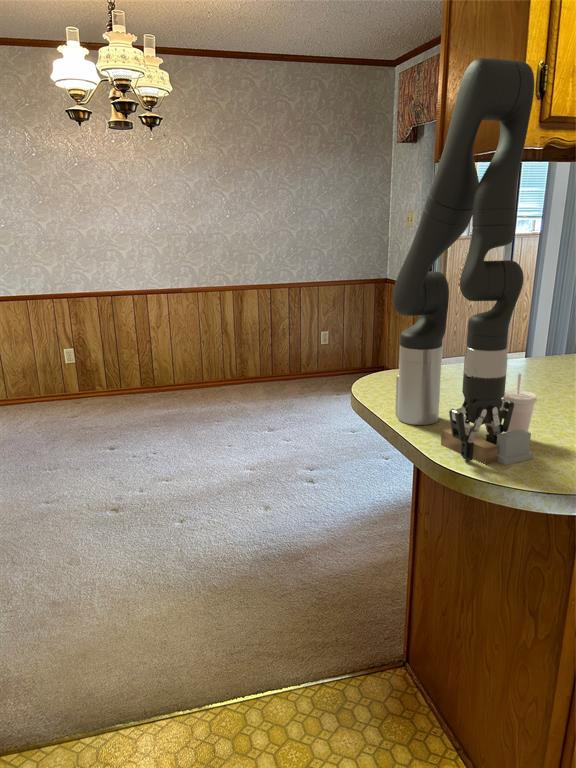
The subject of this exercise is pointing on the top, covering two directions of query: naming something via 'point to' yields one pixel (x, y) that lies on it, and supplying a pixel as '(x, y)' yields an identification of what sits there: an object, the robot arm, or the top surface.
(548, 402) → the top surface
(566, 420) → the top surface
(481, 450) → the walnut bar
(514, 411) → the smoothie
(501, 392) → the robot arm
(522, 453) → the block
